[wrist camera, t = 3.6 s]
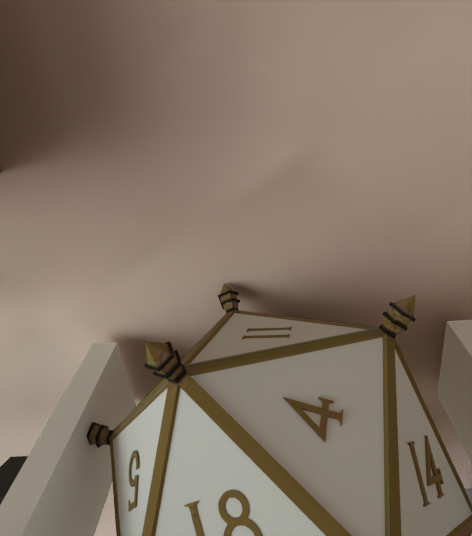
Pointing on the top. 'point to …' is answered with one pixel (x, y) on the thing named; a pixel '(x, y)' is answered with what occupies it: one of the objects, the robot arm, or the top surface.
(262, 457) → the game die
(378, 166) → the top surface
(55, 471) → the robot arm
